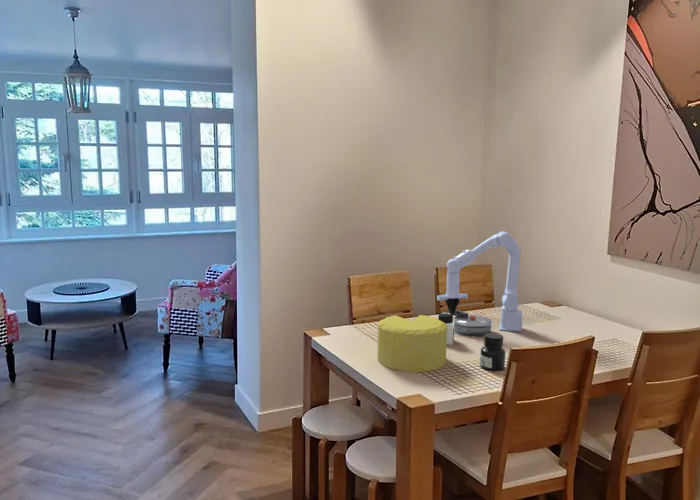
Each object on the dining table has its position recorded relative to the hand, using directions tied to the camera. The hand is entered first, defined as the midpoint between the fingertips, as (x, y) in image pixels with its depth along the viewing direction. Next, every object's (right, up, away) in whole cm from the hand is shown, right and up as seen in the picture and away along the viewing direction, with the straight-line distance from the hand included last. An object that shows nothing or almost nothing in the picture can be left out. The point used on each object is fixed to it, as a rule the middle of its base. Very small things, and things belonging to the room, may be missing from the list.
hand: (451, 314), depth 274 cm
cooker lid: (+7, -2, -5) cm, 9 cm away
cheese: (-23, -13, -45) cm, 52 cm away
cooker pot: (+8, -6, -5) cm, 12 cm away
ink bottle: (+6, -14, -52) cm, 55 cm away
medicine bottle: (-7, -9, -22) cm, 25 cm away
